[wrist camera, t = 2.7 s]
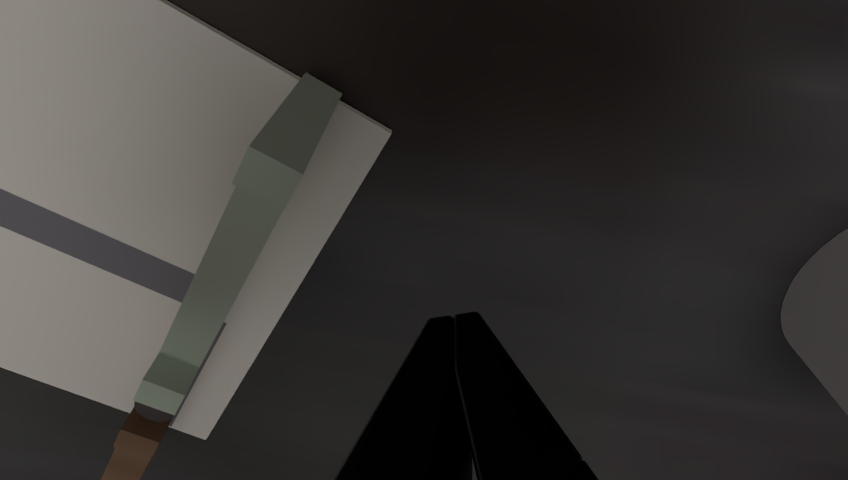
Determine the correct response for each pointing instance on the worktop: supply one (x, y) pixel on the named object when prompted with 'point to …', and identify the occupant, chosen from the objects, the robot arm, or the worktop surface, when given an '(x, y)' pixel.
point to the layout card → (143, 193)
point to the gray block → (821, 316)
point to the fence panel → (239, 237)
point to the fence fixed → (137, 442)
